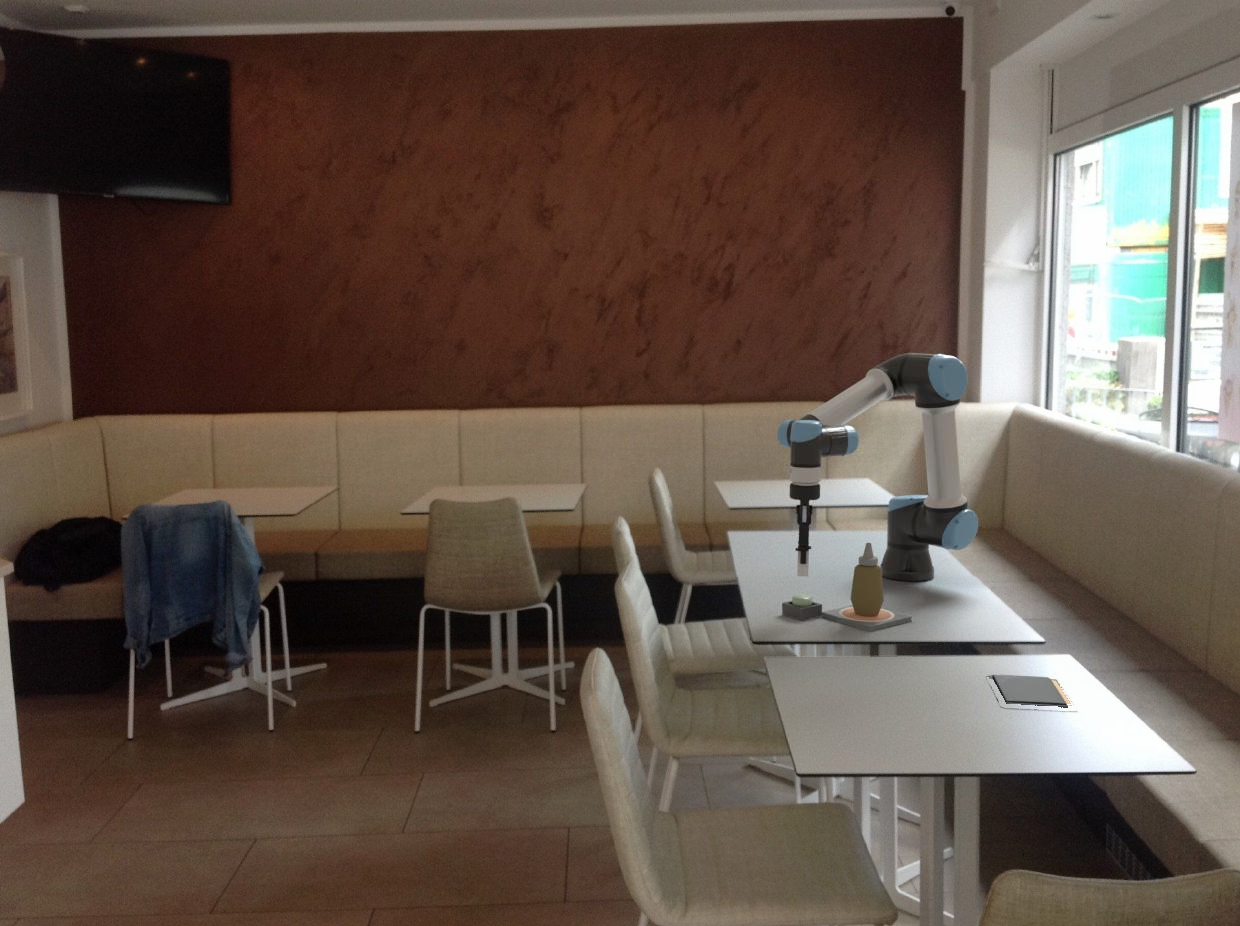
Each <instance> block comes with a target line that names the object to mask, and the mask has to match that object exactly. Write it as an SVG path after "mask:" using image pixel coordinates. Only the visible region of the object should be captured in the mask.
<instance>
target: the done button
mask: <svg viewBox="0 0 1240 926" xmlns="http://www.w3.org/2000/svg"><path fill="white" fill-rule="evenodd" d="M791 597H792V598H791V599H792V600H791V601H792V605H795V606H798V607H801V608H804V607H808V606H812V602H813V596H811V595H807V594H796V595H792V596H791Z"/></svg>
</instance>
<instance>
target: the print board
mask: <svg viewBox="0 0 1240 926" xmlns="http://www.w3.org/2000/svg"><path fill="white" fill-rule="evenodd" d="M821 617H822V618H824V619H828V620H831V621H835V622H837V623H841V624H845V625H848V626H850V627H854V628H857V629H861V630H864V631H868V632H874V631H877V630H882V629H885V628H890V627H893V626H899V625H902V624H906V623H909V622H912V618H913V616H912V615H909V614H905V613H904V614H903V613H900V612H897V611H893V610H890V609H886V608H883V607H881V609H880V611H879V614H878V615H875V616H862V615H858V614H856V613H855V612H854V608H853V605H848V606H847V605H846V606H841V607H839V608H835V609H829V610H826V611H822V616H821Z"/></svg>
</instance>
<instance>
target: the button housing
mask: <svg viewBox="0 0 1240 926" xmlns="http://www.w3.org/2000/svg"><path fill="white" fill-rule="evenodd" d="M781 606H782V607H781V609H782V610H781V612H782V613H781V615H783V616H786V617H790V618H792V619H796V620H799V621H806V620H810V619H814V618H819V617H822V612H823V604H821V603H818V602H815V601H812V606H808V607H804V608H801V607H798V606H795V605H792V600H789V601H786V602H785V601H784V602H782V605H781Z"/></svg>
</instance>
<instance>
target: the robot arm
mask: <svg viewBox="0 0 1240 926" xmlns="http://www.w3.org/2000/svg"><path fill="white" fill-rule="evenodd" d="M968 384H969V376H968V371H967V369H966V366H965V365H964V363H963V362H962V361H961V360H960V359H958V357H955V356H953V355H948V354H947V355H946V354H943V353H923V352H922V353H921V352H918V353H917V352H907V353H901V354H898V355H896V356H893V357H891V358H889V359H886V360H885V361H882V362H881V363H880V364H878V365H876V366H875V367H873V368H871V369H869V370H868V371H867V373H866V374H865V377H864V378H862V379H861V380H859V381H857V382H856V383H854V384H853V385H851V386H850V387H849V388H846V389H845V390H844V391H842V392H840V393H839V394H837V395H836V396H834V397H833V398H831V399H829V400H828V401H826V402H825V403H823V404H821V405H820V406H818V407H817V408H815V409H813V410H812V411H811V412H809V413H807V414H806V415H804V416H803V417H801V418H799V419H797V420H796V419H788V420H787V419H786V420H785V421H783V422H781V423H780V425H779V427H778V429H777V435H776V437H777V441H778V443H779V445H780V446H782V447H783V448H786V449H789V450H790V456H789V457H790V459H789V460H790V463H789V464H790V468H788V469H787V473H788V474H789V480H790V482H791V483H790V484H789V498H790V499H792V500H796V501H799V504H796V515H797V517H796V518H797V519H796V521H797V522H796V523H797V525H798V541H797V544H798V545H797V547H795V552H797V572H796V573H797V577H809V566H810V565H809V557H810V550H812V546H811V545H809V544H810V541H809V540H810V526H811V525H812V515H813V504H810V501H818V500H819V499H820V497H821V485H820V482H821V481H822V459H823V458H828V457H829V458H830V457H838V456H840V457H844V456H846V455H851V454H853V453H854V452H856V451H857V449H858V447H859V441H860V440H859V437H860V436H859V435H858V431H857V430H856V429H855V428H854V427H853V426H852V425H845V424H847V423H848V422H850V421H851V420H854V419H855V418H856V417H857V416H859V415H861V414H862V413H864V412H866V411H867V410H869V409H871V408H872V407H874V406H875V405H876V404H878V403H879V402H887V401H889V400H891V399H893V398H894V397H900V396H910V397H914V403H915V405H914V406H915V408H916V409H918V410H919V411H920V412H921V417H922V419H921V421H922V430H923V432H922V433H923V442H924V443H923V445H924V453H925V465H926V466H925V467H926V478H927V480H926V481H927V491H928V493H927V495H926V494H911V495H910V494H909V495H900V496H899V495H898V496H894V497H892V498H891V499H890V500H889V501H888V510H887V533H886V538H887V540H886V549H885V553H884V554H883V558H882V561H881V563H880V565H879V567H880V568H881V571H882V578H883V577H884V578H887V579H890V580H896V581H901V582H902V581H903V582H922V581H929V580H931V579H934V577H935V567H934V565H933V562H932V557H931V554H930V549H929V548H930V547H929V546H934V547H938V548H942V549H945V550H954V551H962V550H964V549H966V548H967V547H969V545H971V544H972V543H973V541H974V539H975V537H976V535H977V534H978V533H977V532H978V528H979V519H978V515H977V514H976V513H975V511H973V510H972V509H971V508H969V507H968V506H969V505H968V498H967V497H966V496H965V495H964V494H963V493H962V490H961V489H962V488H961V477H960V475H961V474H960V464H959V463H960V462H959V451H958V438H957V436H958V435H957V434H958V433H957V424H956V412H955V411H956V410H955V409H956V408H957V407H958V406H959V405H960V403H961V398H962V397H964V395H965V393H966V392H967V390H966V389H967V388H968Z"/></svg>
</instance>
